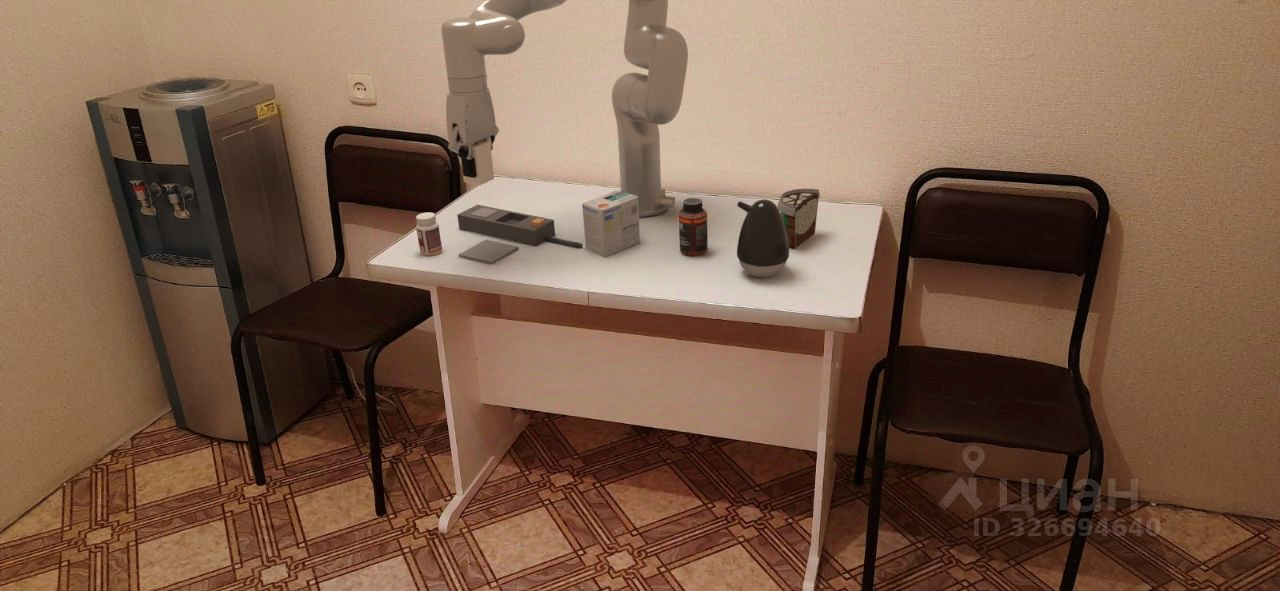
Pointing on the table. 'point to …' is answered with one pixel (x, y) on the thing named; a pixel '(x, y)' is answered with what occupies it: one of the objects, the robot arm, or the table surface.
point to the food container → (799, 214)
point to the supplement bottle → (693, 228)
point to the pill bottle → (428, 234)
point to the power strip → (510, 226)
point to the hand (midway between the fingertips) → (478, 172)
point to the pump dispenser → (762, 239)
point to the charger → (481, 163)
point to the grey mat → (488, 251)
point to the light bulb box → (611, 222)
